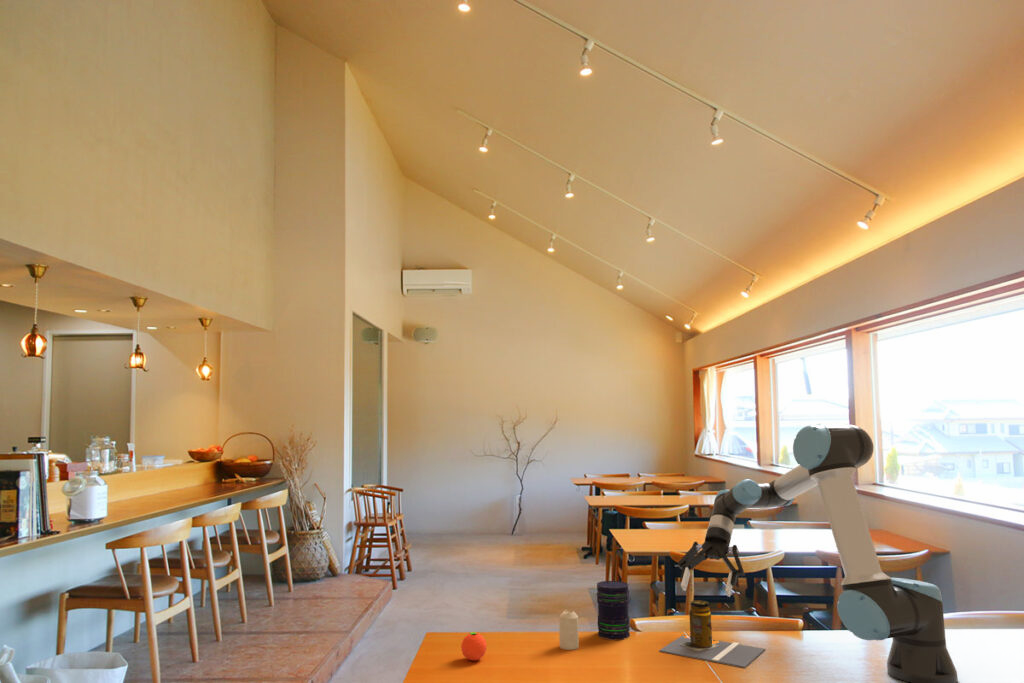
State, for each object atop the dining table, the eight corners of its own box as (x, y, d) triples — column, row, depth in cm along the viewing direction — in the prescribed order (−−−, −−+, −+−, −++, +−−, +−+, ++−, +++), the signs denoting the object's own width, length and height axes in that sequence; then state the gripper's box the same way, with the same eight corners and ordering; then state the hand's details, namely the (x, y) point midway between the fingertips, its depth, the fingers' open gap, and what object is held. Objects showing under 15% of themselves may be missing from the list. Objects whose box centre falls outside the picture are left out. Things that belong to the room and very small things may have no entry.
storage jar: (636, 637, 203) (634, 586, 205) (608, 641, 199) (606, 589, 201) (619, 628, 212) (618, 579, 214) (591, 632, 208) (590, 582, 211)
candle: (556, 645, 196) (555, 609, 197) (572, 643, 198) (571, 607, 199) (565, 651, 191) (564, 614, 192) (582, 648, 193) (581, 612, 194)
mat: (765, 650, 190) (765, 647, 190) (745, 668, 176) (745, 665, 176) (684, 635, 204) (683, 633, 204) (659, 651, 190) (659, 648, 190)
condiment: (719, 646, 192) (716, 602, 194) (699, 651, 188) (697, 607, 189) (699, 640, 198) (697, 597, 200) (679, 645, 194) (677, 601, 195)
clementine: (457, 656, 187) (457, 629, 188) (480, 653, 189) (480, 627, 190) (465, 665, 179) (465, 637, 180) (490, 662, 182) (489, 634, 183)
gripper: (762, 543, 210) (750, 604, 195) (685, 537, 224) (669, 593, 210) (756, 528, 206) (743, 588, 192) (678, 523, 220) (661, 578, 206)
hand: (705, 591), depth 201 cm, fingers open, 13 cm apart
